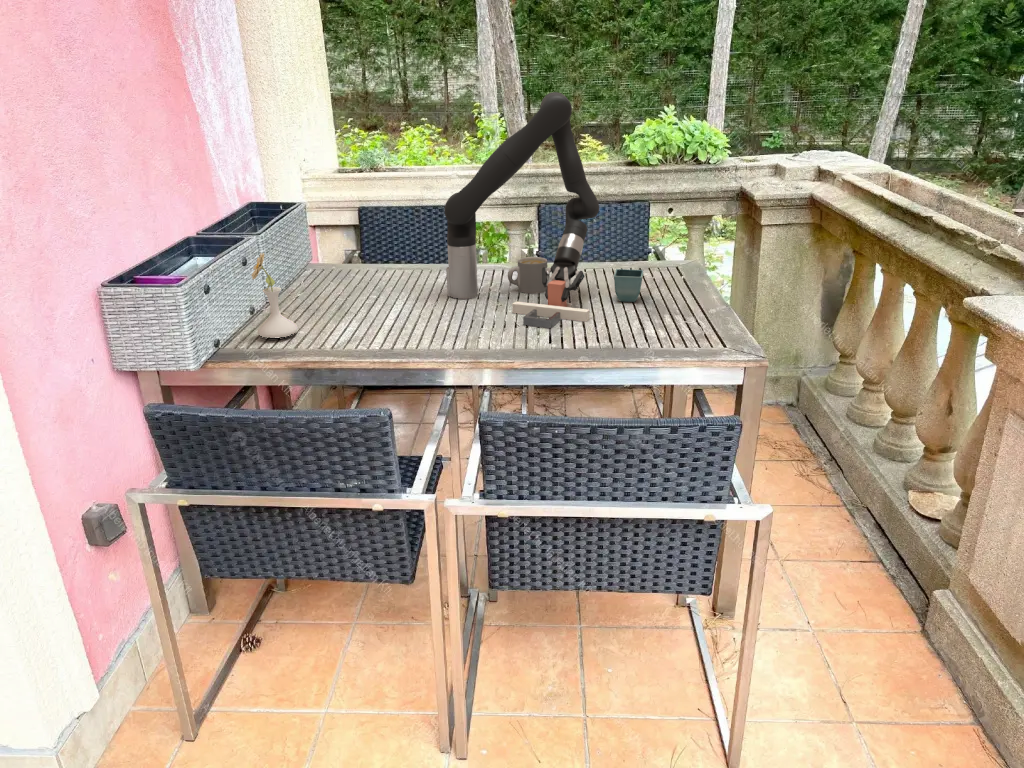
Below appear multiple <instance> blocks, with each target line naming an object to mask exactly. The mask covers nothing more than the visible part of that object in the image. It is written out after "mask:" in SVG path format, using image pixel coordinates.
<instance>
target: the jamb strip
mask: <svg viewBox="0 0 1024 768" xmlns="http://www.w3.org/2000/svg"><path fill="white" fill-rule="evenodd" d="M511 306H512V308H511V310H512V314H516V313H517V315H524V314H525V315H527V314H528V313H529V312H531V311H532V310H534V309H535V310H537V317H540V318H550V317H551V316H553V315H554V314H555V313H556V312H560V320H566V319H567V320H569V321H577V322H584V323H585V322H586V323H587V322H588V321H589V320H590V309H586V308H579V307H577V308H576V307H572V303H571V302H570V303H569V302H567V307H561V306H552V305H548V304H543V303H542V304H541V303H534V302H533V303H532V302H524V301H514V302H513V303H512V305H511ZM525 315H524V316H525ZM567 320H566V321H567Z"/></svg>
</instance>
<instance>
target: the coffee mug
mask: <svg viewBox="0 0 1024 768" xmlns="http://www.w3.org/2000/svg"><path fill="white" fill-rule="evenodd" d="M543 267H545V268H546V269H547V268H548V259H547V258H544V257H538V256H529V257H527V256H526V257H522V258H521V257H520V258H518V259H517V266H513V267H510V268H509V269H508V272H507V280H508V282H509V283H510V284H511V285H514V286H516V287H517V291H518V292H520V293H522V292H523V294H534V295H535V294H542V293H545V291H546V287H544V285H543V283H542V268H543ZM514 272H516V274H517V277H516V279H513V277H512V276H513V273H514Z"/></svg>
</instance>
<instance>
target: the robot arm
mask: <svg viewBox="0 0 1024 768" xmlns="http://www.w3.org/2000/svg"><path fill="white" fill-rule="evenodd" d="M572 113H573V106H572V103H571V102H570V100H569V99H568V97H567V96H566V95H564V94H563V93H561V92H557V91H553V92H549V93H547V94H546V95H545V96H544V97H543V98H542V100H541V102H540V107H539V108H538V111H536V113H535V114H534V116H532V118H531V119H530V120H529V121H528V122H527V123H526V124H525V125H524V126H523V127H522V128H520V130H518V131H517V132H515V133H513V134H512V135H511V136H510V137H508V138H507V139H505V140H504V141H503V142H502V143H501V144H500V145H499V146H498V147H497V148H496V149H495V150H494V151H493V152H492V153H491V154H490V156H489V157H488V158H487V159H486V160H485V162H484V163H483V164H482V166H481V167H480V168H479V170H478V171H477V172H476V173H475V174H474V177H473V178H472V179H471V180H470V181H469V182H468V183H467V184H466V185H465V186H464V187H463V188H462V189H461V190H459V191H458V192H456V193H455V192H454V193H453V194H452V195H450V196H449V198H448V199H447V200H446V203H445V205H444V216H445V218H446V220H447V221H446V222H447V233H446V241H447V258H448V259H447V260H448V261H447V262H448V267H446V269H445V271H446V272H445V274H446V289H447V297H450V296H451V298H452V297H453V299H456V298H458V300H467V299H474V298H476V297H477V296H478V293H479V289H478V266H477V265H478V263H477V261H478V260H477V259H478V258H477V240H476V239H477V221H476V220H477V217H476V216H477V215H476V212H477V211H478V210H480V209H479V208H481V206H482V205H483V204H484V203H485V201H486V200H487V199H488V198H489V197H491V196H492V195H493V194H494V193H495V192H496V191H498V190H499V189H500V188H501V187H502V186H504V185H505V184H506V183H507V182H508V181H509V180H510V179H511V178H512V177H513V176H515V175H516V174H517V173H518V171H520V169H521V168H522V167H523V166H524V165H525V164H526V163H527V162H528V161H529V160H530V158H531V157H532V156H533V155H534V154H535V153H536V151H537V150H538V149H539V148H540V146H542V144H543V143H544V142H545V141H546V140H548V139H549V138H550V137H551V139H552V141H553V144H554V147H555V153H556V156H557V161H558V165H559V169H560V173H561V177H562V181H563V185H564V188H565V190H566V191H567V192H568V193H572V194H576V195H578V197H573V198H570V199H569V200H568V202H567V203H566V205H565V226H564V230H563V234H562V236H561V238H560V241H559V243H558V247H557V250H556V254H555V257H554V259H553V260H554V261H553V264H552V265H551V266H550V267H547V269H546V268H545V267H543V268H542V283H543V285H544V287H546V291H545V292H544V297H545V299H546V301H548V283H549V282H551V281H554V280H559V281H565V282H566V283H565V288H564V290H563V293H562V297H561V300H562V302H565V300H567V301H568V298H569V295H570V292H571V291H574V292H575V291H577V289H578V288H579V286H580V285H581V283H582V281H583V280H584V279H585V273H584V272H583V270H578V267H579V264H580V263H579V262H580V259H581V256H582V254H583V248H584V244H585V239H586V236H587V232H588V226H587V224H586V223H585V222H583V221H582V220H589V219H594V218H596V217H597V215H599V214H598V213H599V211H600V203H599V201H598V199H597V196H596V195H595V193H594V192H593V189H592V188H591V186H590V184H589V182H588V180H587V178H586V177H587V176H586V173H585V170H584V166H583V162H582V159H581V156H580V153H579V150H578V148H577V145H576V141H575V137H574V135H573V131H572V127H571V125H572V124H571V117H572ZM550 273H551V276H550ZM549 276H550V277H549ZM573 277H575V278H574V279H573ZM571 279H573V281H572V280H571Z"/></svg>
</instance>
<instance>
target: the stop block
mask: <svg viewBox="0 0 1024 768" xmlns="http://www.w3.org/2000/svg"><path fill="white" fill-rule="evenodd" d="M548 282H549V281H548ZM565 283H566V282H565V281H559V280H554V281H551V282H549V283H548V300H547V305H552V306H561V307H567V303H568V302H567V301H568V299H567V300H565V302H562V300H561V297H562V293H563V290H564V288H565Z"/></svg>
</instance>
